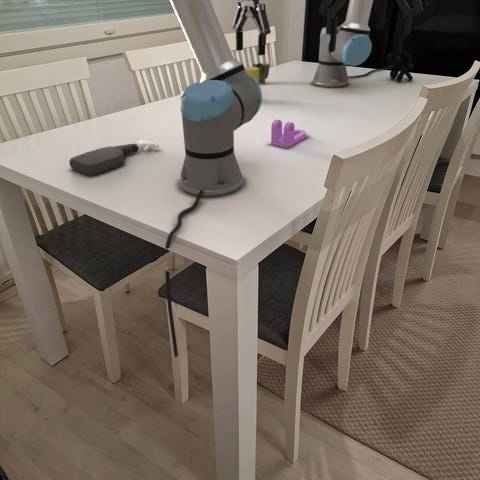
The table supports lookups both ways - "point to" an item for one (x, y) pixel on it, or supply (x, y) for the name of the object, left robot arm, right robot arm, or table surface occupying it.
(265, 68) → the cup
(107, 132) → the table surface
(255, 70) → the canister
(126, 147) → the spray bottle
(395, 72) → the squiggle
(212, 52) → the left robot arm
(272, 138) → the bracket
